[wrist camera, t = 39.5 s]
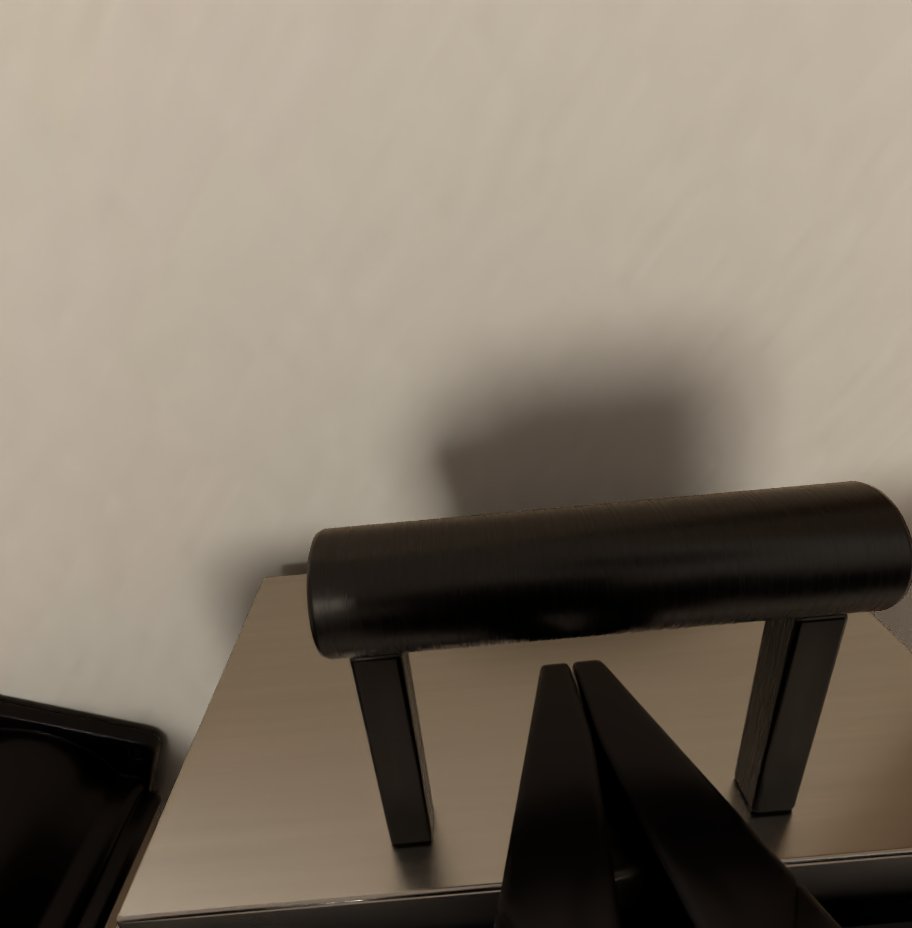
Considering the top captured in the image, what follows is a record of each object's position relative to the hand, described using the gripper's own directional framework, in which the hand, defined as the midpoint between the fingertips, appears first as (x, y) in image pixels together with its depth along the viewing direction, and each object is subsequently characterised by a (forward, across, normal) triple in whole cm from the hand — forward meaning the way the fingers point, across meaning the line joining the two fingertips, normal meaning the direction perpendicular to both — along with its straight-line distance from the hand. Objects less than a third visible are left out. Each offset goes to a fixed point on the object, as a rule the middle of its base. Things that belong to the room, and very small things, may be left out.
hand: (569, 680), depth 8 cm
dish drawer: (+5, 0, +5) cm, 7 cm away
